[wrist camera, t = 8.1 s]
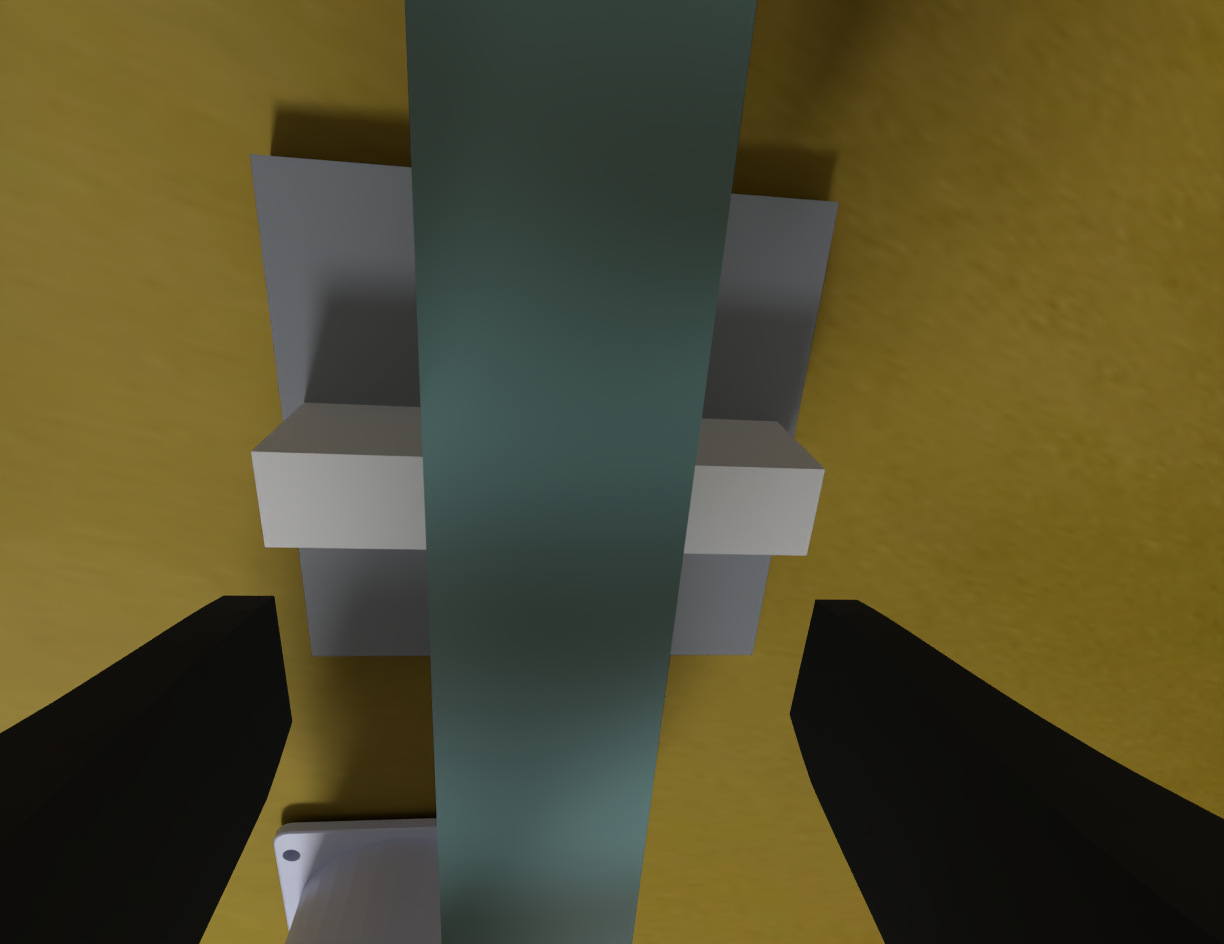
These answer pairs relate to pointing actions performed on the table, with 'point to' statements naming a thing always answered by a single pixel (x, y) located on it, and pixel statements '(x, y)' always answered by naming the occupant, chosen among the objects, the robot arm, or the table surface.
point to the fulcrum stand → (391, 409)
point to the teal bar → (561, 425)
